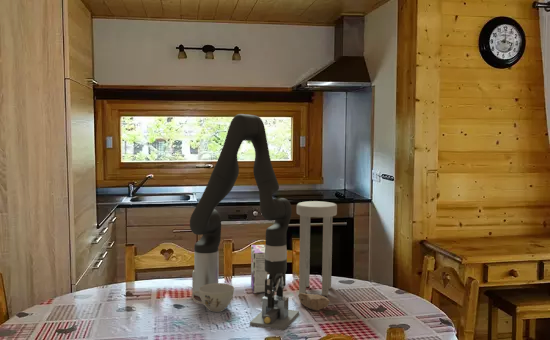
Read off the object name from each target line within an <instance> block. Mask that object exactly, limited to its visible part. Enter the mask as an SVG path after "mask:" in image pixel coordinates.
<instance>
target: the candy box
mask: <svg viewBox="0 0 550 340" xmlns="http://www.w3.org/2000/svg"><path fill="white" fill-rule="evenodd" d="M265 245H266V244H251V246H250V252H251V253H250V259H251V260H250V261H251V262H250V264H251V266H250V271H251V272H250V274H251V275H250V283H251V289H252V292H253V294H265V279H268V274H269V273H268V272H266V271H265Z"/></svg>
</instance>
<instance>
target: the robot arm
mask: <svg viewBox="0 0 550 340" xmlns="http://www.w3.org/2000/svg"><path fill="white" fill-rule="evenodd" d="M266 133H267V132H266V128H265V125H264V122H263V120H262V118H261V117H260V116H257V115H254V114H246V113H245V114H244V113H238V114H236V115H235V116H234V117H232V120H231V121H230V124H229V127H228V129H227V132H226V136H225V138H224V141H223V142H224V143H223V145H222V148H221V151H220V154H219V155H218V158H217V161H216V163H215V166H214V167H213V170H212V172H211V174H210V177H209V180H208V181H207V184H206V187H205V189H204V191H203V193H202V195H201V198H200V199H199V200H198V203H197V204H196V206H195V208H194V210H193V211H192V213H191V216H190V218H189V229H190V231H191V232H192V233H193V234H194V235H197V236H198V235H199V236H200V235H201V237H200V239H199V240H197V241H196V242H195V243H194V246H193V247H194V255H193V256H194V270H192V273H191V274H192V280H191V281H192V283H191V285H192V288H191V289H192V290H191V292H192V293H193V292H194V291H199V288H200V287H202V286H203V285H206V284H214V283H219V247H220V245H221V236H222V217H221V214H220V212H218V210H217V209H216V208H217V206H218V205H219V204H220V203H221V202H222V201H223V200H224V199H225V198H226V197H227V196H228V195H229V193H231V191H232V190H233V188H234V187H235V184H236V181H237V179H238V177H239V173H240V167H239V160H238V153H239V150H240V149H241V148H240V147H241V145H242V143H243V142H245V141H246V142H248V141H249V142H251V144H252V146H253V150H254V162H253V170H252V171H253V176H254V181H255V183H256V186H257V189H258V194H259V209H260V214H261V216H262V218H264V219H265V220H266V221H268V222H269V221H270V222H271V221H272V222H273V221H274V223H273V224H272V225H271V226H268V227H267V228H266V229H265V244H264V245H265V271H266V272H268V273H267V274H269V276H268V277H267V279H265V293H264V296H265V297H268V303H267V307H268V308H271V309H273V308H274V296H275V295H276V296H283V297H284V289H285V287H286V285H287V284H286V282H287V281H286V277H287V276H286V272H287V269H288V268H287V267H288V265H287V263H288V249H287V231H288V229H289V226H290V221H291V218H292V213H293V212H292V211H293V209H292V203H291V202H290V201H289V200H288V199H287V198H284V197H280V198H279V197H278V198H273V194H276V193H277V192H278V191H279V190H280V185H279V182H278V180H277V179H278V178H277V176H276V174H275V171H274V167H273V164H272V160H271V155H270V149H269V144H268V138H267V134H266ZM194 297H199V298H200V296H199V295H198V294H195V295H194Z"/></svg>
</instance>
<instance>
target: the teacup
mask: <svg viewBox="0 0 550 340" xmlns="http://www.w3.org/2000/svg"><path fill="white" fill-rule="evenodd" d="M234 292H235V287H234V286H233V285H232V284H228V283H223V282H221V283H220V282H218V283H214V284H206V285H203V286H202V287H200V288H199V291H194V292H193V293H192V294H191V297H192V300H193V301H194V302H195V303H197V304H201V305H204V307H206V308H207V309H208V310H209V311H210V312H214V313H215V312H216V313H220V312H223V311H225V309H226V308H227V307H228V306H229V305H230V304H231V301H232V300H233V296H234ZM195 294H198V295H199V296H200V297H199V298H200V300H201V301H200V300H198V299H196V298H195Z"/></svg>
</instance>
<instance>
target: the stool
mask: <svg viewBox="0 0 550 340" xmlns="http://www.w3.org/2000/svg"><path fill="white" fill-rule="evenodd" d="M296 214H297V215H298V216H299V263H298V265H299V267H298V269H299V271H298V274H299V277H298V278H299V279H298V283H299V284H298V294H299V293H304V294H307V288H309V287H310V275H311V274H310V269H311V267H310V264H311V263H310V262H311V261H310V260H311V259H310V257H311V218H322V259H321V260H322V261H321V262H322V264H321V265H322V266H321V268H322V270H321V296H326V297H327V296H329V289H331V288H332V262H333V261H332V259H333V258H332V257H333V256H332V255H333V217H335V216H337V215H338V205H337V203H335V202H329V201H318V200H313V201H312V200H309V201H302V202H301V201H300V202H298V203H297V204H296Z"/></svg>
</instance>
